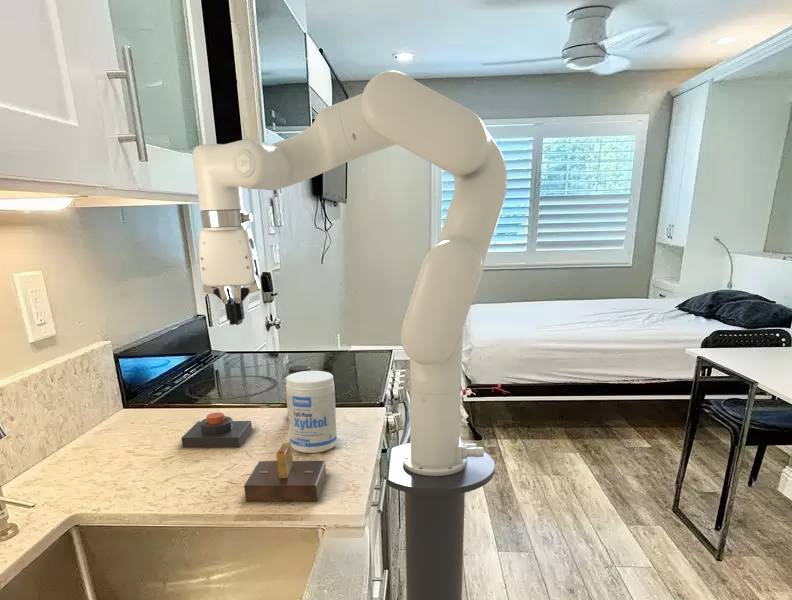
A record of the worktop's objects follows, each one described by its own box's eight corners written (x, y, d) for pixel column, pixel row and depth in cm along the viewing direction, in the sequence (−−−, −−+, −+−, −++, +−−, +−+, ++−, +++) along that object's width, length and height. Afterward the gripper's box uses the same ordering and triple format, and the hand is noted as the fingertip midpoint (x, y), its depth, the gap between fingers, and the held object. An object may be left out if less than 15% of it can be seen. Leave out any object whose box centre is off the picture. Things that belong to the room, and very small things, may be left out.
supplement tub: (295, 457, 111) (288, 385, 106) (286, 441, 120) (280, 373, 114) (343, 450, 114) (339, 379, 109) (331, 434, 123) (327, 367, 117)
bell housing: (252, 430, 127) (250, 413, 125) (239, 447, 117) (237, 429, 116) (199, 430, 127) (196, 413, 126) (182, 447, 118) (179, 429, 117)
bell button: (227, 419, 123) (226, 412, 122) (222, 425, 119) (220, 417, 119) (210, 420, 123) (209, 412, 122) (205, 425, 120) (204, 418, 119)
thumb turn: (285, 466, 100) (282, 441, 99) (293, 466, 100) (290, 441, 98) (278, 478, 96) (276, 452, 94) (287, 478, 96) (284, 452, 94)
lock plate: (326, 475, 103) (324, 459, 102) (317, 501, 94) (316, 484, 93) (261, 476, 104) (259, 460, 103) (246, 501, 95) (243, 484, 94)
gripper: (269, 220, 106) (279, 319, 113) (190, 222, 107) (205, 321, 114) (258, 220, 99) (270, 326, 106) (174, 223, 100) (191, 328, 107)
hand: (236, 323), depth 110 cm, fingers closed
